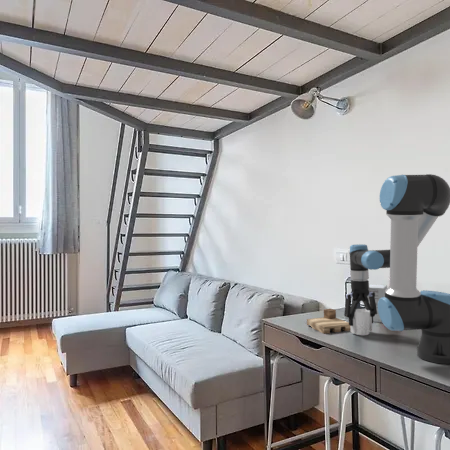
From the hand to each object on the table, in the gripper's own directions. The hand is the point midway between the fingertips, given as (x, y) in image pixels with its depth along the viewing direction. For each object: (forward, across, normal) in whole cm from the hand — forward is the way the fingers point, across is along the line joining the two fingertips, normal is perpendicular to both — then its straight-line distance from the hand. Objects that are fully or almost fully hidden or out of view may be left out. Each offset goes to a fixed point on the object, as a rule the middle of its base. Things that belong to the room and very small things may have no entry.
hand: (361, 331), depth 179 cm
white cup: (+1, 0, 0) cm, 1 cm away
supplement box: (+1, -21, -18) cm, 28 cm away
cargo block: (-2, +4, -20) cm, 20 cm away
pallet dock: (+1, +8, -14) cm, 16 cm away
